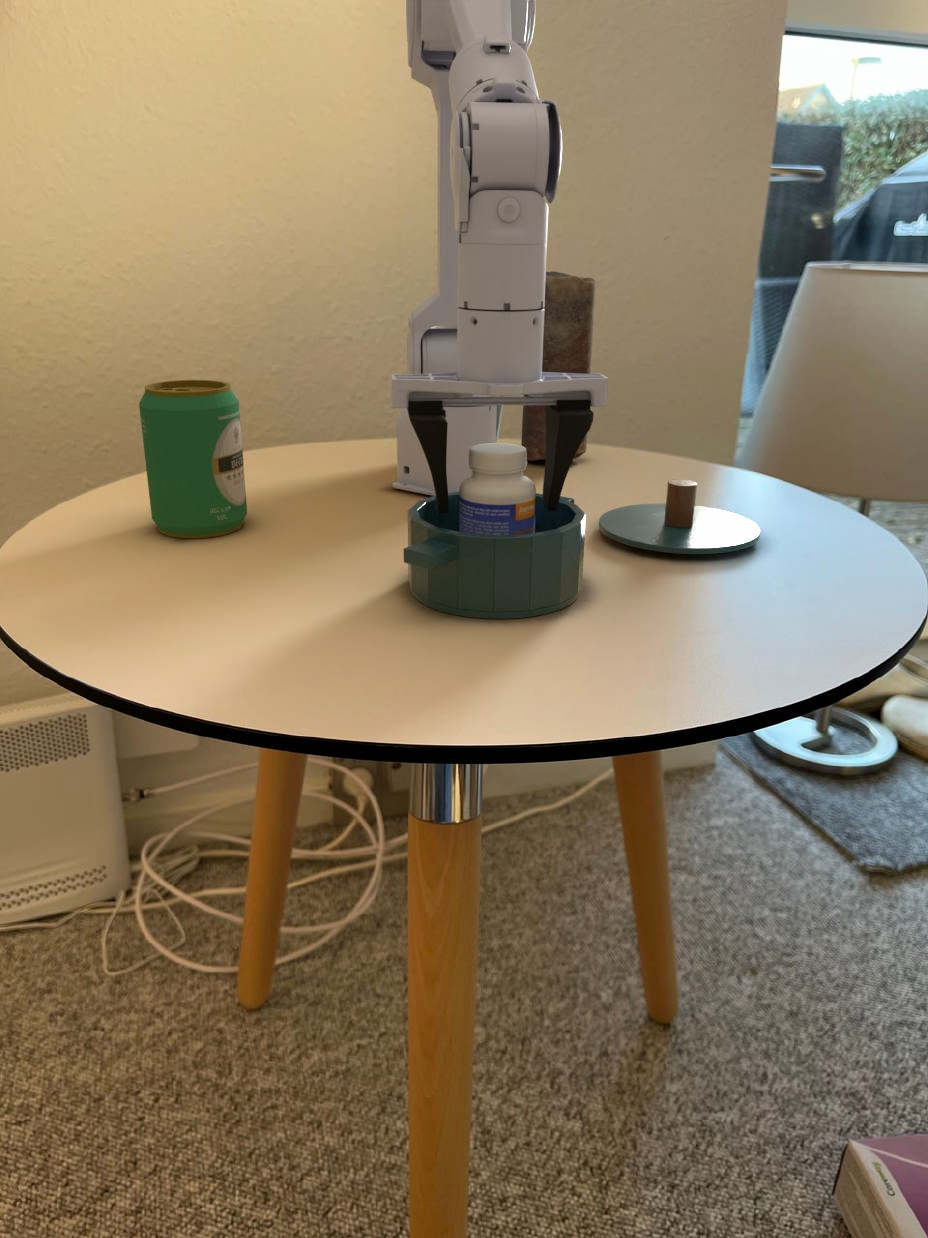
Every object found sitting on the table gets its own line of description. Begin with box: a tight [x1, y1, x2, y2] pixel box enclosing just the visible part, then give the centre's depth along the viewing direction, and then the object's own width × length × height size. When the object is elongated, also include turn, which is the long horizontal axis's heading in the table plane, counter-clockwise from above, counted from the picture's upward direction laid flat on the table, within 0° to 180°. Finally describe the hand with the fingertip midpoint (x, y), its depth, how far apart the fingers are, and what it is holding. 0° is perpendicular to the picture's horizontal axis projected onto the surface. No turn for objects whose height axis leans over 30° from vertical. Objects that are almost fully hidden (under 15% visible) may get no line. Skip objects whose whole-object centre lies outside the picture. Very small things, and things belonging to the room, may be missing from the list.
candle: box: [520, 270, 597, 462], centre depth 107 cm, size 8×7×20 cm
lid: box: [598, 478, 761, 555], centre depth 83 cm, size 13×13×5 cm
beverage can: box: [138, 379, 248, 539], centre depth 83 cm, size 8×8×12 cm
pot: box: [403, 492, 587, 620], centre depth 70 cm, size 12×18×6 cm
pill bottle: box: [459, 442, 537, 535], centre depth 69 cm, size 5×5×10 cm
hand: (496, 508), depth 69 cm, fingers open, 7 cm apart
